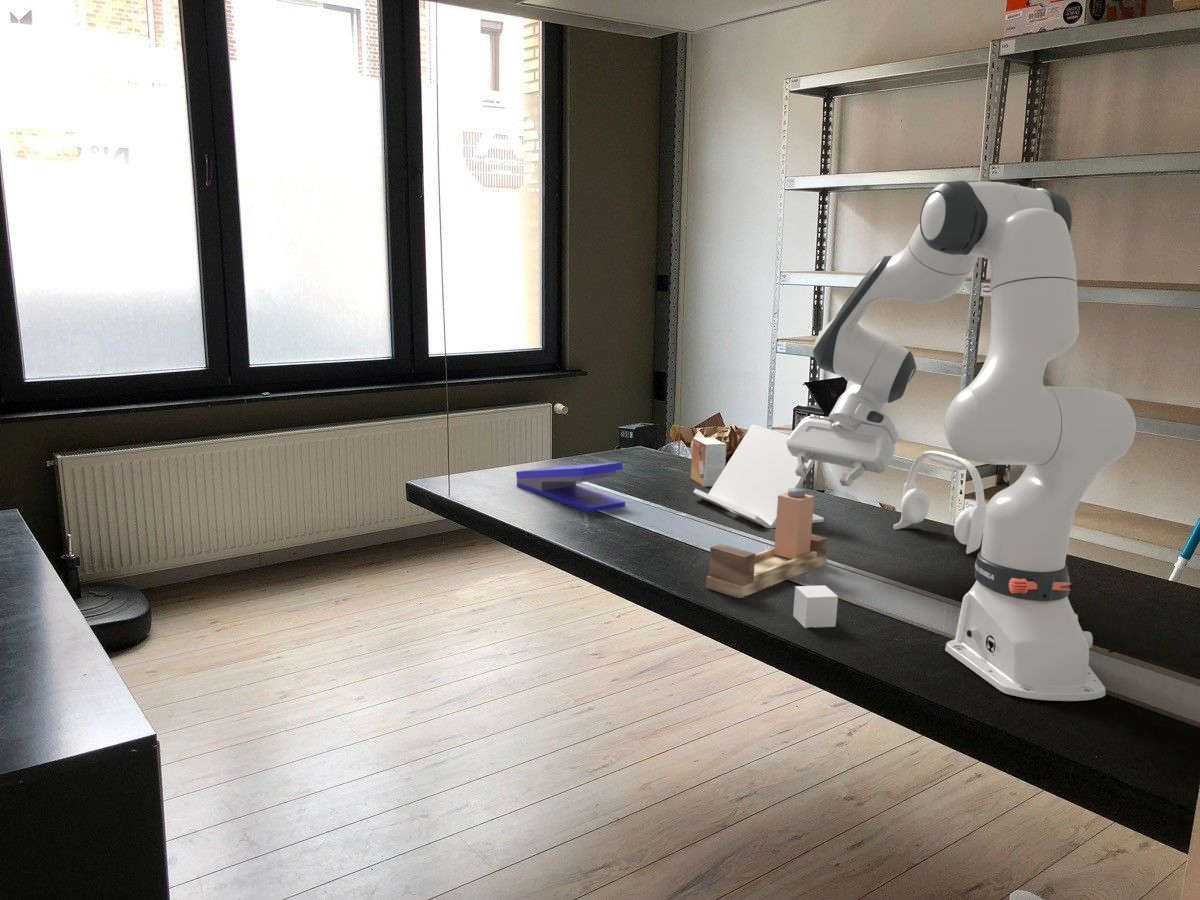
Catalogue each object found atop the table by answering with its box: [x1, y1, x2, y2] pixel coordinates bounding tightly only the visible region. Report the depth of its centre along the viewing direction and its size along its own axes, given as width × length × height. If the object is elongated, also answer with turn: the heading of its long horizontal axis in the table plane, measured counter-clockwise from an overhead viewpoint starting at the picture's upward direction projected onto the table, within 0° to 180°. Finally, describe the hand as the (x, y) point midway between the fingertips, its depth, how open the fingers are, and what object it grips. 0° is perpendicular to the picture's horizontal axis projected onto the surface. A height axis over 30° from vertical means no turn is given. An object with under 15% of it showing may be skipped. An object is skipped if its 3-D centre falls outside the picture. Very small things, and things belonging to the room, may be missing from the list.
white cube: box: [792, 584, 839, 629], centre depth 150 cm, size 5×5×5 cm
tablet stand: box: [693, 424, 825, 529], centre depth 212 cm, size 18×25×17 cm
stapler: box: [515, 461, 626, 513], centre depth 221 cm, size 12×28×10 cm, turn 40°
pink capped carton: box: [774, 488, 815, 559], centre depth 175 cm, size 5×5×12 cm
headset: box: [892, 450, 987, 555], centre depth 194 cm, size 20×7×18 cm, turn 25°
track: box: [705, 533, 828, 599], centre depth 171 cm, size 27×7×7 cm, turn 136°
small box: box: [690, 437, 727, 488], centre depth 237 cm, size 8×6×10 cm
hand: (821, 479), depth 179 cm, fingers open, 8 cm apart
